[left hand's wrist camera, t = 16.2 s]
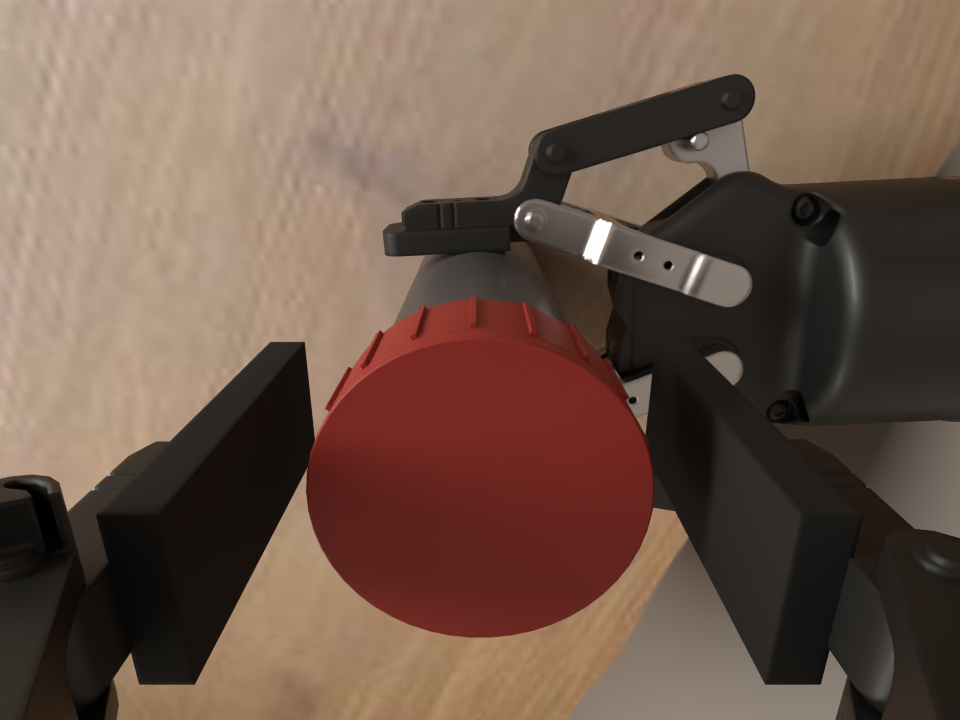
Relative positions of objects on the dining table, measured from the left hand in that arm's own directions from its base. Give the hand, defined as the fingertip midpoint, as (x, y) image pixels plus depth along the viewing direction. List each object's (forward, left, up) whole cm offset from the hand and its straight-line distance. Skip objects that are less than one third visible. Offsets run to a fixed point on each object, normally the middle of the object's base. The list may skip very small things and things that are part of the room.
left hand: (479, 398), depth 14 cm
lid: (0, 0, +4) cm, 4 cm away
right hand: (-2, +2, -6) cm, 7 cm away
